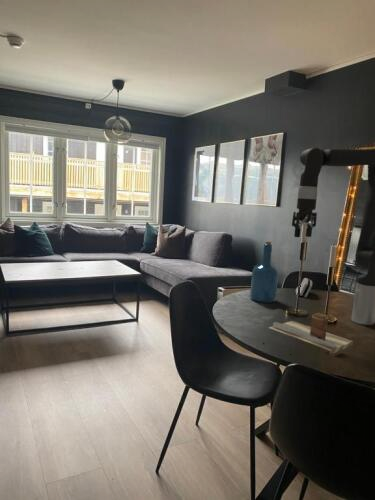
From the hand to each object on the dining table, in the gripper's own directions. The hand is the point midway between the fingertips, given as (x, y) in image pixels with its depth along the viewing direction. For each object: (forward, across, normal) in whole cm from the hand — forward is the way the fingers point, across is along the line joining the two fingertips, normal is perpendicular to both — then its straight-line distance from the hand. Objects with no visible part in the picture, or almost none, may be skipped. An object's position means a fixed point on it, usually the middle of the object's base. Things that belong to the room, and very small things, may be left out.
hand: (302, 236), depth 160 cm
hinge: (+36, +46, +25) cm, 64 cm away
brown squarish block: (+35, -16, -20) cm, 43 cm away
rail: (+35, -19, -16) cm, 43 cm away
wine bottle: (+36, +14, +28) cm, 48 cm away
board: (+36, -14, -16) cm, 42 cm away
